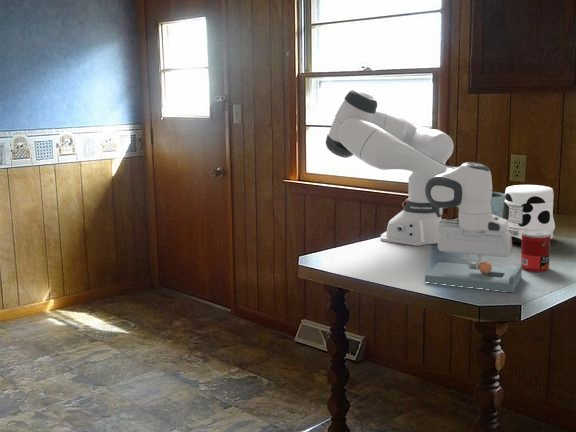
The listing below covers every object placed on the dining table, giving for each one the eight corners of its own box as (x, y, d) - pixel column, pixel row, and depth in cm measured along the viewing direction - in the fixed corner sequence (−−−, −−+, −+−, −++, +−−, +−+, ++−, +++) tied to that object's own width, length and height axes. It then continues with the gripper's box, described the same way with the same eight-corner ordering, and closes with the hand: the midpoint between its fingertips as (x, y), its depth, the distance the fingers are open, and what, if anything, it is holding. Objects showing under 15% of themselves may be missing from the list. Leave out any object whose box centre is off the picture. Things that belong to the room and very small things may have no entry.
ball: (481, 277, 192) (475, 266, 192) (483, 273, 195) (477, 262, 195) (492, 272, 190) (486, 261, 190) (494, 269, 193) (489, 258, 194)
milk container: (550, 234, 242) (552, 184, 238) (557, 247, 225) (560, 193, 221) (499, 233, 245) (500, 184, 242) (502, 246, 229) (504, 193, 225)
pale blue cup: (474, 222, 264) (475, 191, 261) (502, 222, 262) (502, 191, 260) (478, 228, 254) (478, 196, 251) (506, 228, 252) (507, 196, 250)
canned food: (545, 273, 199) (547, 236, 197) (517, 270, 203) (518, 234, 201) (551, 266, 206) (553, 230, 203) (524, 263, 210) (525, 228, 207)
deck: (425, 283, 195) (425, 269, 194) (438, 269, 207) (438, 256, 206) (512, 293, 184) (513, 278, 183) (521, 278, 196) (522, 264, 195)
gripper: (434, 220, 193) (434, 267, 196) (510, 226, 184) (508, 275, 187) (441, 216, 199) (440, 262, 202) (514, 221, 189) (512, 269, 192)
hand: (473, 268), depth 194 cm, fingers closed
